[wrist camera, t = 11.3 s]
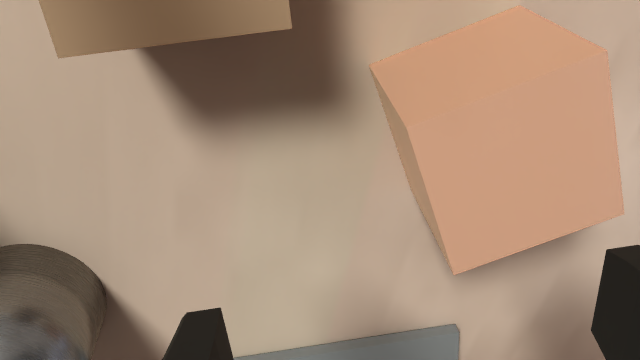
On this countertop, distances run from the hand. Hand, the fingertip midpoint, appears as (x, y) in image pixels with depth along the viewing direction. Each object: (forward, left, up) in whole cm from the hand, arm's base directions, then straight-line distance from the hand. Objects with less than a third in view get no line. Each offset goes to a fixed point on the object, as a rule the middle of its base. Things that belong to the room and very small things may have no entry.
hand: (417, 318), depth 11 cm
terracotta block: (-4, 0, -10) cm, 10 cm away
